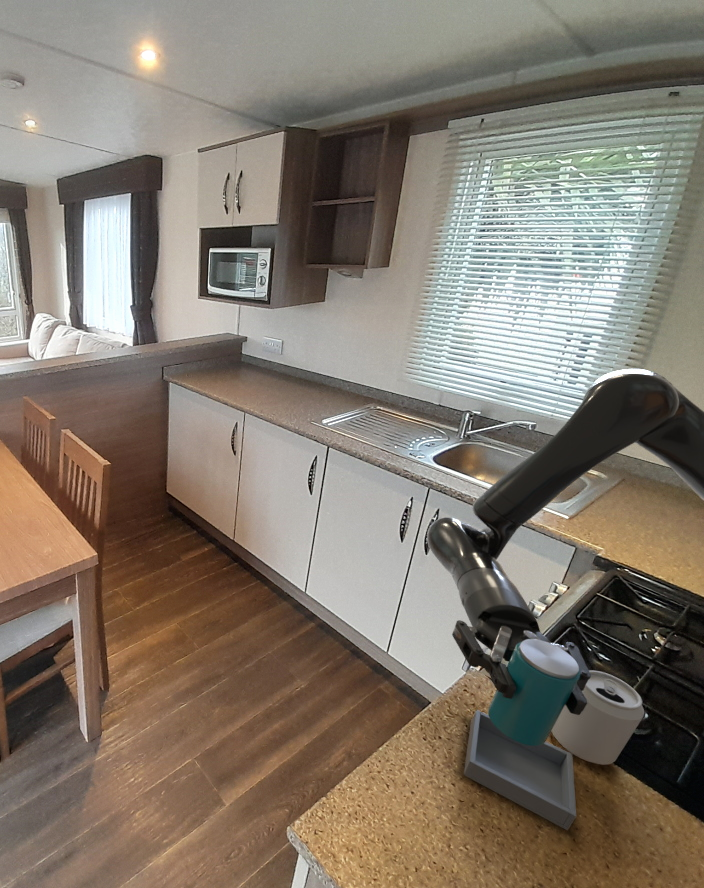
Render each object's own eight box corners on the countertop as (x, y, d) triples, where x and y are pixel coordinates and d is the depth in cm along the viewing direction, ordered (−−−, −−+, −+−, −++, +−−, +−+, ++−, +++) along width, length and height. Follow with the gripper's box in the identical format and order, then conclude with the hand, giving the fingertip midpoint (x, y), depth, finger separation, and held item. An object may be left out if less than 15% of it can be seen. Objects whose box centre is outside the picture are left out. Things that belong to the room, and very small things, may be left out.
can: (545, 745, 72) (575, 689, 67) (548, 711, 77) (576, 656, 72) (614, 779, 67) (652, 722, 62) (613, 741, 72) (648, 685, 67)
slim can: (546, 720, 62) (581, 653, 57) (546, 756, 58) (584, 687, 53) (489, 694, 66) (518, 629, 61) (485, 727, 62) (516, 659, 57)
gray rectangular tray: (564, 767, 69) (572, 753, 68) (567, 830, 62) (576, 816, 60) (470, 722, 75) (476, 709, 74) (463, 775, 68) (469, 761, 67)
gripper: (445, 576, 72) (482, 663, 58) (562, 596, 67) (634, 696, 53) (432, 614, 75) (464, 706, 61) (544, 636, 71) (607, 741, 56)
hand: (543, 701), depth 57 cm, fingers closed on slim can, 6 cm apart
